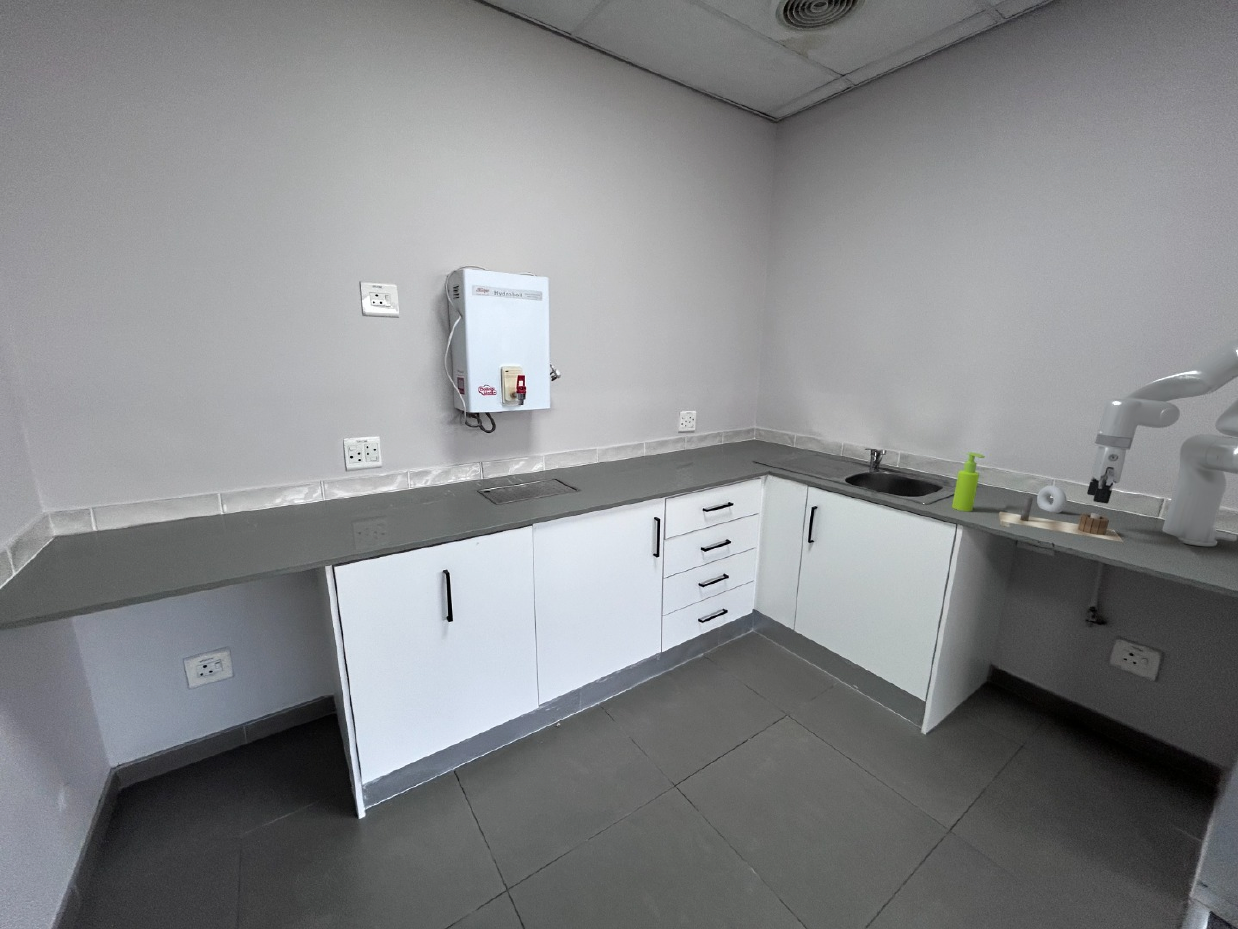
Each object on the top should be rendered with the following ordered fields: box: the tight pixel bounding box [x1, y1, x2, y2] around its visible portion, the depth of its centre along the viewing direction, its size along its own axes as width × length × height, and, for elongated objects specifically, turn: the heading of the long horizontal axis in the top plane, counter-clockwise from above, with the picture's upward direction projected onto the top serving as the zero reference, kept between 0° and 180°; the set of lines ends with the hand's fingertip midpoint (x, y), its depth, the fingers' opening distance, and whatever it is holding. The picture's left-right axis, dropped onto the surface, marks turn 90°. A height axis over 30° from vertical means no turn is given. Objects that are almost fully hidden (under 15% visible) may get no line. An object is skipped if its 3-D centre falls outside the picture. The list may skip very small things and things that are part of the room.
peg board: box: [998, 495, 1124, 543], centre depth 153 cm, size 28×12×10 cm, turn 55°
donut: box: [1036, 484, 1067, 514], centre depth 169 cm, size 10×4×10 cm, turn 179°
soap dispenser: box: [951, 452, 985, 512], centre depth 171 cm, size 6×7×20 cm
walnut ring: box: [1078, 513, 1110, 535], centre depth 149 cm, size 6×6×4 cm
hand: (1097, 498), depth 147 cm, fingers open, 9 cm apart
